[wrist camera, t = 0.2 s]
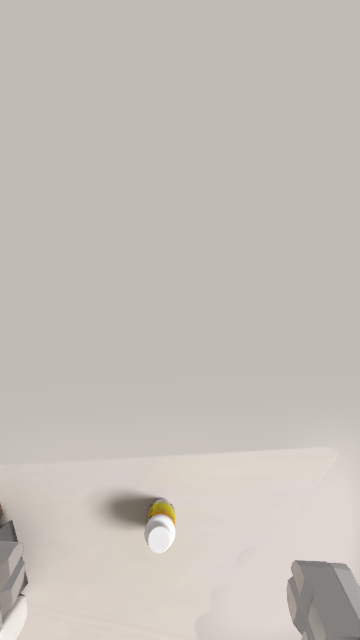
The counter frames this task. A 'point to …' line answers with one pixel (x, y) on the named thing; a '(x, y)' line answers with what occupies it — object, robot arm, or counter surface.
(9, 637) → the eye dropper bottle
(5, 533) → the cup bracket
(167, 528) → the supplement bottle
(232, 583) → the counter surface
